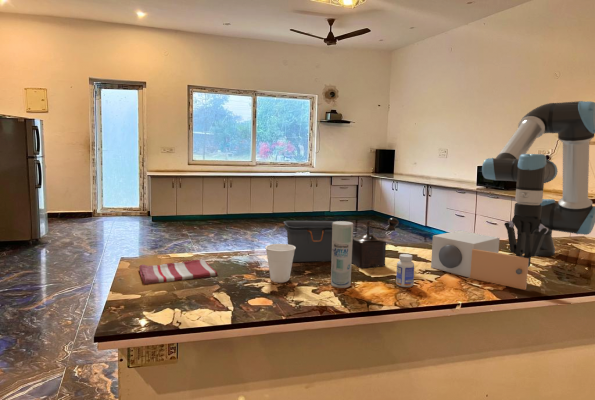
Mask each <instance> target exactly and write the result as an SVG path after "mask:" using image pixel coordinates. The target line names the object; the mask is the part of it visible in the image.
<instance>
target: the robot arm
mask: <svg viewBox="0 0 595 400" xmlns="http://www.w3.org/2000/svg"><path fill="white" fill-rule="evenodd" d="M544 134H545V135H546V134H557V138H558V140H559V141H560V142H561V143H562V198H561V199H559V200H558V202H556V200H555V199H553V198H552V199H551V198H544V197H543V196H544V186H545V184H546V183H550V182H551V181H553V180H554V179H555V178H556V177H557V175H558V167H557V165H556V164H555V163H554V162H553V161H551V160H549V159H547V156H546V155H545V154H543V153H528V151H529V150H530V148H531V147H532V146H533V144H534V143H535V141H536V140H537V139H538V138H540V137H542V136H543V135H544ZM594 137H595V102H594V101H590V100H589V101H583V100H579V101H565V102H563V101H562V102H549V103H544V104H542V105H540V106H537V107H535V108H533V109H532V110H531V111H529V112H527V113H526V114H525V115H524V116H523V117H522V118H521V119H520V120H519V122H518V124H517V129H516V130H515V131H514V133H513V135H512V136H511V137H510V138H509V140H508V141H507V142H506V144H505V145H504V146H503V148H502V149H501V151H500V152H499V153H498V154H497V156H496V157H492V158H490V157H489V158H485V159H484V161H483V163H482V167H481V173H482V176H483V178H484V179H486V180H492V181H505V182H507V181H508V182H516V186H515V187H516V188H515V198H514V199H515V202H516V203H514V208H513V217H512V218H511V220H510V221H508V222H504V224H503V225H504V228H505V229H506V232H507V239H508V244H509V251H510V253H513V254H514V255H515V256H519V257H524V258H529V263H528V268H530V266H531V259H532V258H534V257H536V256H539V257H540V256H542V257H547V256H548V257H550V256H554V255H556V247H555V245H554V243H555V242H554V240H553V235H552V234H553V232H554V231H555V232H561V233H566V234H567V233H568V234H575V235H583V236H584V235H586V236H587V235H589V234H591V232H592V231H593V229H594V226H595V206H593V200H592V199H590V198H589V176H590V175H589V172H590V171H589V170H590V169H589V166H590V141H591V140H593V139H594ZM515 229H516V230H515ZM516 235H517V237H516Z"/></svg>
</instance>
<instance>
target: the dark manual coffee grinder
mask: <svg viewBox="0 0 595 400" xmlns="http://www.w3.org/2000/svg"><path fill="white" fill-rule="evenodd" d="M387 222H388V227H387V228H385V227H384V228H383V227H381V226H380V227H379V226H374V225H373V226H372V225H371V221H370V220H367V221H366V234H363V235H360V236H359V237H353V241H352V263H351V264H352V265H355V266H357V268H360V269H367V268H368V269H371V268H377V267H379V268H380V267H385V266H386V252H387V251H386V250H387V248H386V247H387V242H386V241H385V240H383V239H379V238H377V237H376V236H374V235H373V234H370V229H375V230H381V231H385V232H393V231H394V232H395V231H396V227H398V225H399V224H400V223H399V220H398V219H397V218H394V217H390V218H389V219H388V220H387Z"/></svg>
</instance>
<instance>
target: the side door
mask: <svg viewBox="0 0 595 400" xmlns="http://www.w3.org/2000/svg"><path fill="white" fill-rule="evenodd" d="M528 263H529V258H524V257H519V256H516V255H512V254H507V253H501V252H498V253H495V252H489V251H483V250H477V249H472V260H471V273H470V279H473V280H478V281H482V282H488V283H492V284H497V285H501V286H506V287H510V288H515V289H520V290H527V286H528V285H527V284H528V273H529V267H528Z"/></svg>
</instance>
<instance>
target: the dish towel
mask: <svg viewBox="0 0 595 400" xmlns="http://www.w3.org/2000/svg"><path fill="white" fill-rule="evenodd" d="M139 273H140V276H141V279H142V282H143V284H144V285H150V284H160V283H168V282H169V283H170V282H176V281H177V282H178V280H179V281H184V280H194V279H202V278H203V279H204V278H208V277H209V278H210V277H217V276H219V275H218V272H217V270H215V269H214V268H213V267H212V266H211V265H210V264H209V263H208V262H207V261H206V260H205V259H194V260H192V259H191V260H186V261H182V262H169V263H163V264H160V265H159V264H157V265H146V264H140V266H139Z"/></svg>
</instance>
